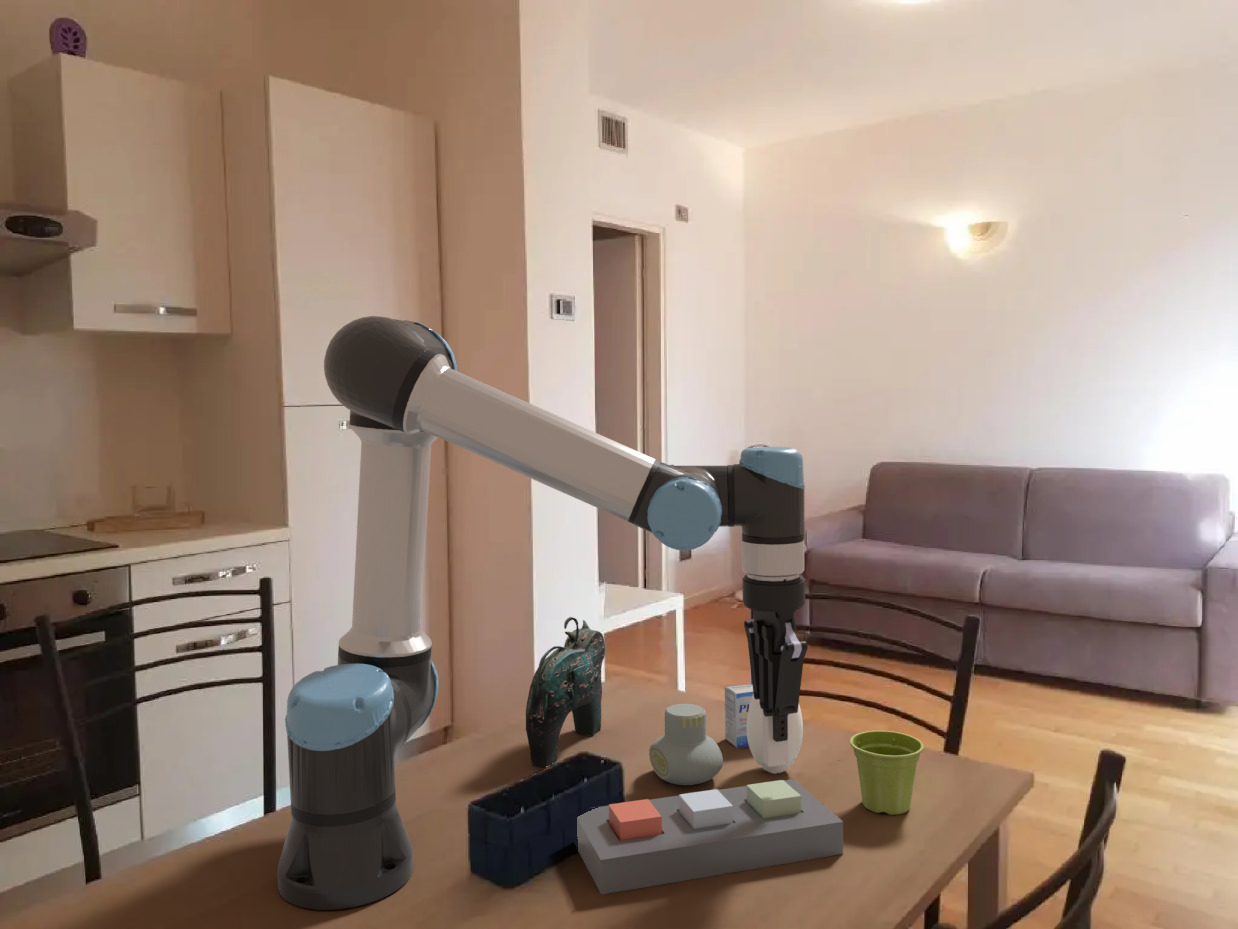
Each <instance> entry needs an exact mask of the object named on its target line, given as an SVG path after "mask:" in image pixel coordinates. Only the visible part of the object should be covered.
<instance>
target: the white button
mask: <svg viewBox="0 0 1238 929" xmlns="http://www.w3.org/2000/svg"><path fill="white" fill-rule="evenodd" d="M718 790H719V789H716V788H714V789H710V790H702V791H701V790H700V791H694V792H688V793H681V794H678V796H679V814H680V815H681V816H682V817H683V819H684V820H685V821H686V822H687V824H688V825H689V826H690V827H691V828H692V829H699V828H705V827H712V826H718V825H725V824H731V823H733V805H732V804H731V803H730V802H729V801H728V800H727V799H726V798H725V797H724V796H723V795H722V794H721V793H720V792H719V791H718Z"/></svg>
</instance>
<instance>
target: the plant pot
mask: <svg viewBox="0 0 1238 929" xmlns="http://www.w3.org/2000/svg"><path fill="white" fill-rule="evenodd" d="M849 745H850V747H851V748H852V749H853V754H854V756H855V758H856V764H857V765H856V766H857V770H858V777H859V785H860V793H861V800H862V802H861V803H862V805H863V806H864V807H865V809H867V810H868V811H871V812H874V813H877V814H880V813H886V814H888V815H901V814H904V813H906V812H908V811H909V810H910V808H911V803H912V797H913V791H914V783H915V776H916V770H917V764H918V762H919V761H920V760H919V759H920V755H921V753H922V752H923V751H924V747H925V746H924V743H923V742H922V741H921V740H920V739H918V738H917V737H914V736H912V735H910V734H906V733H903V732H900V731H899V732H898V731H893V730H868V731H867V730H866V731H863V732H858V733H856V734H854V735H852V736H851V737H850V739H849Z"/></svg>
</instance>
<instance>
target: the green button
mask: <svg viewBox="0 0 1238 929" xmlns="http://www.w3.org/2000/svg"><path fill="white" fill-rule="evenodd" d="M746 786H747V804H748V805H749V806H750V807H751V808H752V809H753V810H754V811H755V812H756V813H757V814H758V815H759V816H760V817H761V818H762V819H764V818H770V817H777V816H783V815H790V814H797V813H801V795H800V794H799V793H797V792H796V791H795V790H794V789H793V788H792V787H791V786H789V785H788V784H787V783H786V782H785V780H783V779H779V780H773V781H765V782H759V783H751V784H746Z"/></svg>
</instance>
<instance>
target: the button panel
mask: <svg viewBox="0 0 1238 929" xmlns="http://www.w3.org/2000/svg"><path fill="white" fill-rule="evenodd" d="M784 781H785V782H786V783H787V784H788V785H789V786H791V787H792V788H793V789H794V790H795V791H796V792H797V793H799V794H800V795H801V813H797V814H790V815H783V816H777V817H770V818H764V819H762V818H761V817H760V816H759V815H758V814H757V813H756V812H755V811H754V810H753V809H752V808H751V807H750V806H749V805H748V804H747V785H743V786H737V787H729V788H723V789H717V790H718V791H719V792H720V793H721V794H722V795H723V796H724V797H725V798H726V799H727V800H728V801H729V802H730V803H731V804H732V805H733V823H731V824H725V825H718V826H712V827H705V828H699V829H692V828H691V827H690V826H689V825H688V824H687V822H686V821H685V820H684V819H683V817H682V816H681V815H680V814H679V795H674V796H668V797H667V796H665V797H660V798H659V797H658V798H652V799H649V801H650V802H651V803H652V805H653V806H654V807H655V808H656V810H657V811H658V812H659V814H660V815H661V816H662V834H660V835H653V836H646V837H640V838H633V839H627V840H620V841H619V840H618V838H617V837H616V835H615V834H614V832H613V830H612V829H611V827H610V826H609V805H603V806H597V807H598V808H595V807H594V808H595V809H592V810H591V811H588V812H586V813H584V814H582V815H580V816H578V817H577V837H578V838H577V839H578V850H577V851H578V853H579V855H580V857H581V859H582V860H583V863H584V864H585V866H586V869H587V870H588V872H589V874H590V875H591V878H592V880H593V882H594V884H595V886H596V888H597V889H598V891H599V894H600V895H606V894H607V895H609V894H613V893H619V892H626V891H631V890H635V889H636V890H638V889H643V888H649V887H655V886H660V885H665V884H672V883H677V882H683V881H684V882H686V881H690V880H695V879H696V880H697V879H702V878H708V877H709V878H710V877H714V876H721V875H725V874H732V873H737V872H744V871H751V870H755V869H756V870H757V869H760V868H761V869H762V868H767V867H772V866H779V865H786V864H790V863H797V862H803V861H809V860H813V859H814V860H815V859H821V858H826V857H833V856H838V855H843V854H844V821H843V820H842V818H839V816H837V815H836V814H835V813H834V812H833V811H831V810H830V809H829V808H828V807H827V806H826V805H824V804H823V803H822V802H821V801H820V800H818V798H816V797H815V796H814V795H812V793H810V792H809V791H808V790H807V789H806V788H804V787H803V785H801V784H800V783H799V782H798V781H796V780H795V779H787V780H786V779H785V780H784Z"/></svg>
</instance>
